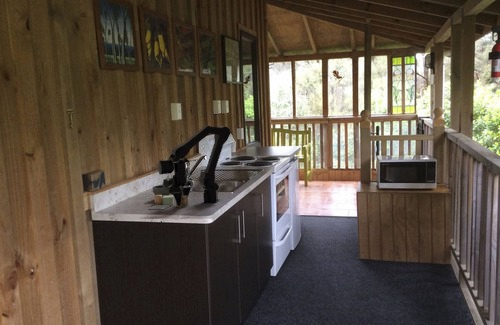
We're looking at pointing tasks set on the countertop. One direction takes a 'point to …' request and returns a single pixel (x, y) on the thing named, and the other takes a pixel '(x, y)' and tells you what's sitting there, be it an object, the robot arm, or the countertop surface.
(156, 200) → the dome-topped tan cylinder
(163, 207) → the slate coaster
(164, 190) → the mortar and pestle
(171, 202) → the sage block
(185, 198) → the walnut block
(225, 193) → the countertop surface
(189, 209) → the countertop surface
